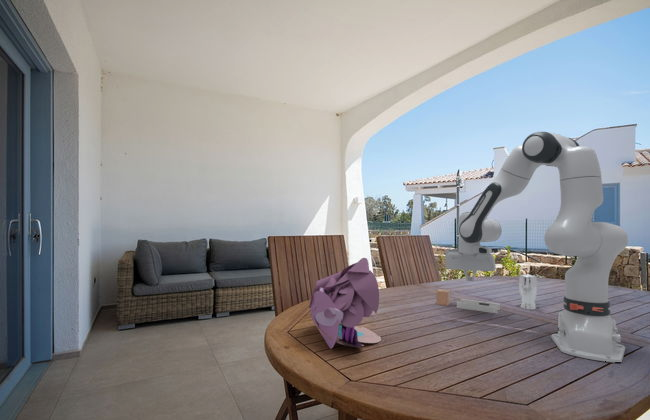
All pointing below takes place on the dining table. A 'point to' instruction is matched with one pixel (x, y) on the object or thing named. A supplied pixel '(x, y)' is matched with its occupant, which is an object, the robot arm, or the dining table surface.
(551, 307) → the dining table surface
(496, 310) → the chute
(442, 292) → the block
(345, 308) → the flower arrangement
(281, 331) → the dining table surface
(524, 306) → the beer glass
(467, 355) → the dining table surface
